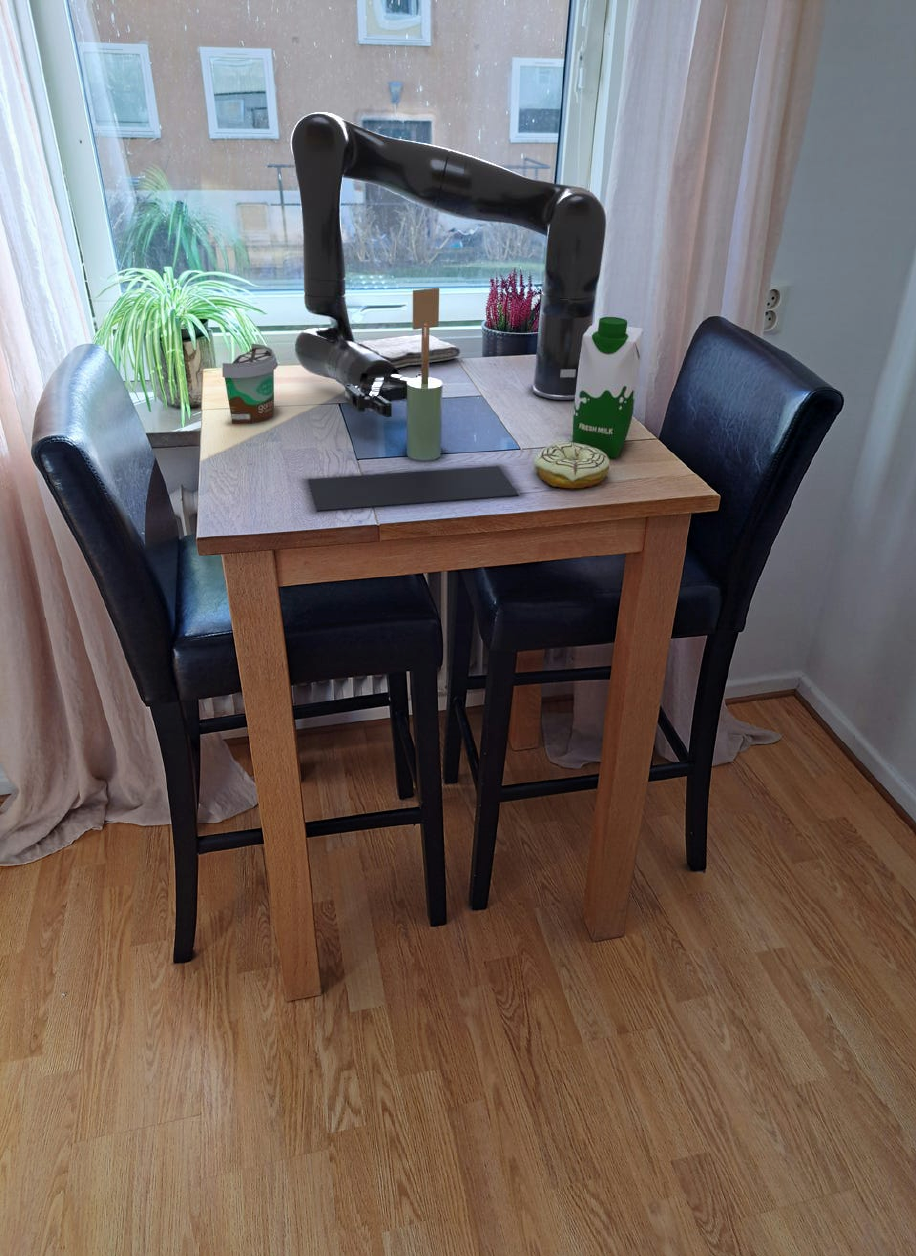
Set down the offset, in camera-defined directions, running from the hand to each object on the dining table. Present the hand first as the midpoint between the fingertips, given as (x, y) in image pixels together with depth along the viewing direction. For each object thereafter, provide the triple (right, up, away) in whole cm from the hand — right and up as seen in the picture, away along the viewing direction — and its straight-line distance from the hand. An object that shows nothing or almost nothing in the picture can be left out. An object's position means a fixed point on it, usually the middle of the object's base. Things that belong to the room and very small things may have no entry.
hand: (415, 406), depth 133 cm
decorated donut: (+23, -11, -3) cm, 26 cm away
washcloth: (-4, +20, +42) cm, 47 cm away
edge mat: (0, -14, -9) cm, 16 cm away
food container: (-26, +2, +13) cm, 29 cm away
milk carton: (+29, -5, +6) cm, 30 cm away
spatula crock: (+1, -7, +2) cm, 7 cm away
